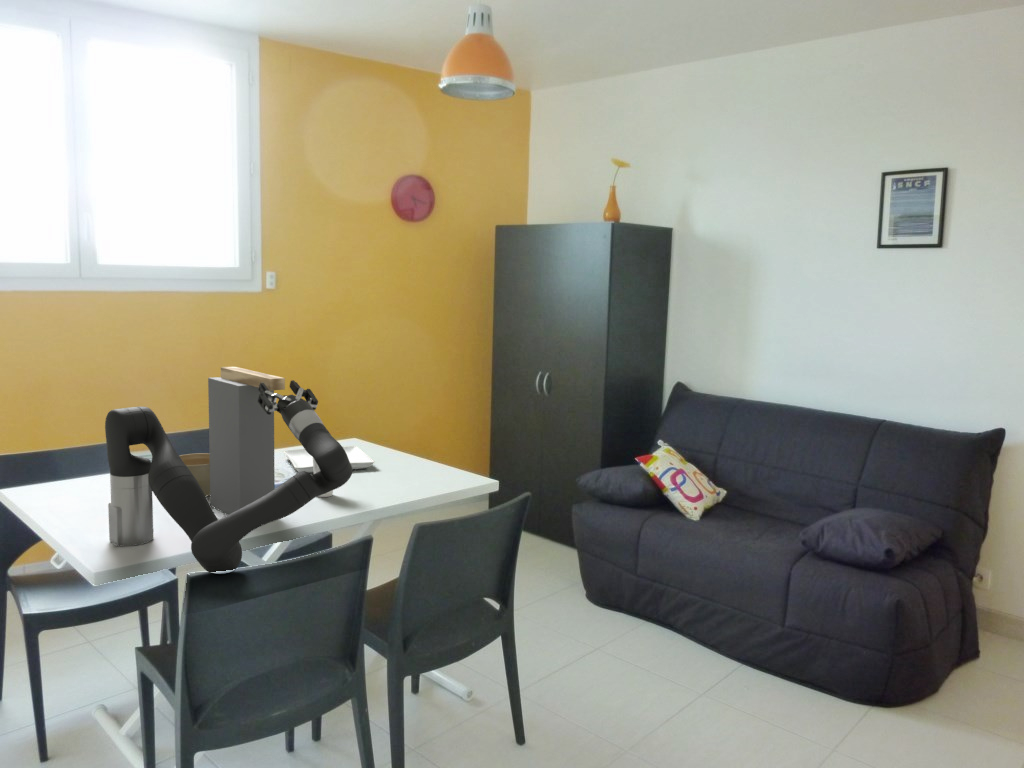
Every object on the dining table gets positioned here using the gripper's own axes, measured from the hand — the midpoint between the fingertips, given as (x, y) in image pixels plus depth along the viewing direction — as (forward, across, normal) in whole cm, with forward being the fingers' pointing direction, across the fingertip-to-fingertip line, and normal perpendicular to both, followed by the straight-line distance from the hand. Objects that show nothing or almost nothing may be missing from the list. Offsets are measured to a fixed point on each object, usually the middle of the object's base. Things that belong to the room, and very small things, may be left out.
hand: (276, 384), depth 205 cm
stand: (-1, 0, -43) cm, 43 cm away
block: (+11, 0, -8) cm, 13 cm away
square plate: (+28, +48, -61) cm, 82 cm away
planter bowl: (+19, -3, -55) cm, 58 cm away
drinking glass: (-2, +26, -43) cm, 50 cm away
